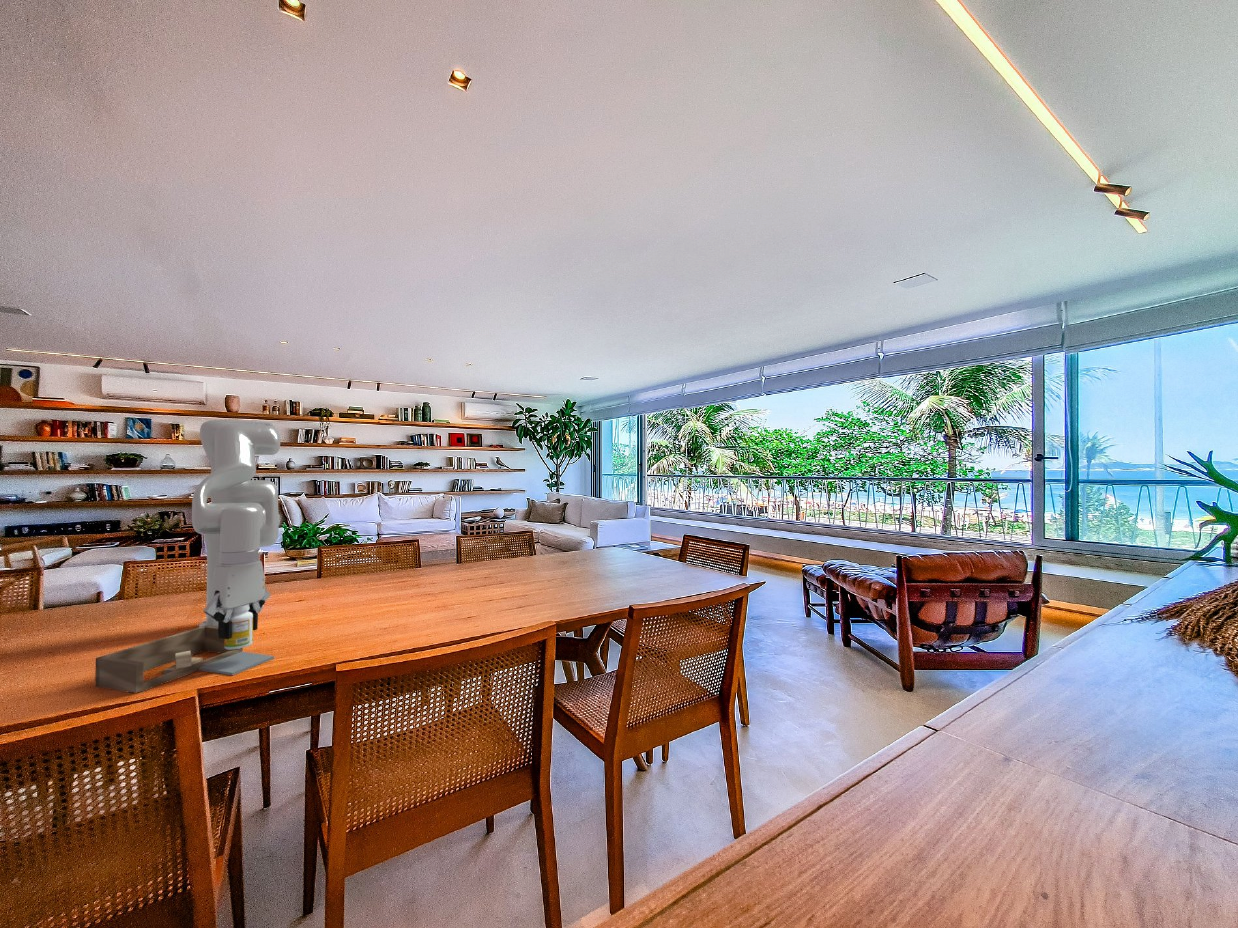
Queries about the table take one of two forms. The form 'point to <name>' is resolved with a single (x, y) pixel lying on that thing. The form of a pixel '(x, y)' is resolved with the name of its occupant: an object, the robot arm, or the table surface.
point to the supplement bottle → (240, 628)
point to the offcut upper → (183, 659)
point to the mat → (236, 663)
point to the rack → (157, 659)
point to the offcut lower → (173, 668)
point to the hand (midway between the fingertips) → (238, 632)
